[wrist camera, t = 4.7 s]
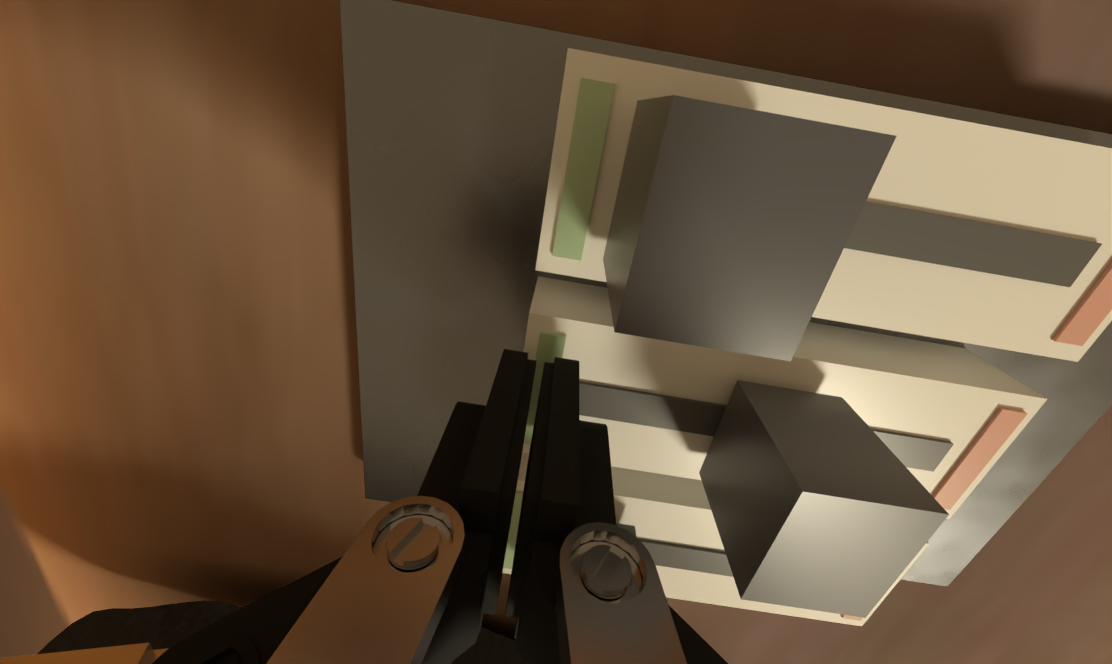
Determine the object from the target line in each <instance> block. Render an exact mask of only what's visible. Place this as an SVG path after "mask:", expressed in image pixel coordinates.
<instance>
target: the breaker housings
mask: <svg viewBox="0 0 1112 664" xmlns="http://www.w3.org/2000/svg"><path fill="white" fill-rule="evenodd" d="M671 95H676V96H682V97H687V98H693V99H698V100H703V101H709V102H714V103H720V104H725V105H731V106H736V107H742V108H747V109H753V110H758V111H764V112H769V113H775V114H780V115H785V116H791V117H796V118H802V119H807V120H813V121H818V122H824V123H829V124H835V125H840V126H846V127H851V128H857V129H862V130H867V131H873V132H878V133H884V134H889V135H895V136H896V138H895V141H894V143H893V145H892V147H891V149H890V151H889V153H888V155H887V158H886V160H885V162H884V164H883V166H882V168H881V170H880V173H879V175H878V177H877V179H876V181H875V183H874V185H873V187H872V190H871V192H870V194H869V196H868V198H867V200H866V202H865V204H864V207H863V209H862V211H861V213H860V215H859V217H858V219H857V221H856V224H855V226H854V228H853V230H852V232H851V234H850V236H849V238H848V241H847V243H846V245H845V247H844V249H843V251H842V253H841V255H840V258H839V260H838V262H837V264H836V266H835V268H834V270H833V272H832V275H831V277H830V279H829V281H828V283H827V285H826V287H825V289H824V292H823V294H822V296H821V298H820V300H819V302H818V304H817V306H816V309H815V311H814V313H813V315H812V317H815V318H821V319H827V320H833V321H839V322H845V323H850V324H856V325H862V326H868V327H874V328H880V329H886V330H892V331H898V332H904V333H910V334H916V335H921V336H927V337H933V338H939V339H945V340H951V341H957V342H963V343H969V344H975V345H981V346H986V347H992V348H998V349H1004V350H1010V351H1016V352H1022V353H1028V354H1034V355H1040V356H1046V357H1051V358H1057V359H1063V360H1069V361H1075V362H1078V361H1079V360H1080V359H1081V358H1082V356H1083V355H1084V354H1085V353H1086V351H1087V350H1088V349H1089V348H1090V347H1091V345H1092V344H1093V343H1094V342H1095V340H1096V339H1097V338H1098V337H1099V336H1100V334H1101V333H1102V332H1103V331H1104V329H1105V328H1106V327H1107V326H1108V325H1109V323H1110V322H1111V321H1112V148H1107V147H1102V146H1096V145H1091V144H1085V143H1080V142H1074V141H1069V140H1064V139H1058V138H1053V137H1047V136H1042V135H1037V134H1031V133H1026V132H1020V131H1015V130H1010V129H1004V128H999V127H993V126H988V125H983V124H977V123H972V122H966V121H961V120H955V119H950V118H945V117H939V116H934V115H928V114H923V113H918V112H912V111H907V110H901V109H896V108H891V107H885V106H880V105H874V104H869V103H864V102H858V101H853V100H847V99H842V98H836V97H831V96H826V95H820V94H815V93H809V92H804V91H799V90H793V89H788V88H782V87H777V86H772V85H766V84H761V83H755V82H750V81H744V80H739V79H734V78H728V77H723V76H717V75H712V74H707V73H701V72H696V71H690V70H685V69H680V68H674V67H669V66H663V65H658V64H653V63H647V62H642V61H636V60H631V59H625V58H620V57H615V56H609V55H604V54H598V53H593V52H588V51H582V50H577V49H571V48H568V50H567V57H566V64H565V71H564V78H563V85H562V91H561V98H560V105H559V112H558V119H557V126H556V133H555V139H554V146H553V153H552V160H551V167H550V174H549V180H548V187H547V194H546V201H545V208H544V215H543V221H542V228H541V235H540V242H539V249H538V256H537V262H536V269H535V270H537V271H543V272H549V273H555V274H561V275H567V276H573V277H579V278H584V279H590V280H596V281H602V282H606V275H605V269H604V263H603V257H604V252H605V247H606V243H607V238H608V234H609V229H610V224H611V220H612V215H613V211H614V206H615V201H616V197H617V192H618V187H619V183H620V178H621V174H622V169H623V164H624V160H625V155H626V151H627V146H628V141H629V137H630V132H631V128H632V123H633V118H634V114H635V109H636V105H637V101H638V100H645V99H651V98H658V97H664V96H671ZM523 352H527V353H528V359H530V360H536V361H537V363H536V369H535V376H534V382H533V388H532V394H531V401H530V407H529V413H528V420H527V426H526V432H525V438H524V445H523V451H522V457H521V463H520V469H519V475H518V481H517V487H516V493H515V499H514V505H513V511H512V517H511V523H510V530H509V536H508V542H507V548H506V554H505V560H504V566H503V572H502V573H506V574H511V572H512V565H513V559H514V552H515V545H516V538H517V531H518V525H519V518H520V511H521V504H522V497H523V491H524V484H525V477H526V470H527V464H528V457H529V451H530V445H531V439H532V433H533V427H534V422H535V416H536V410H537V404H538V398H539V392H540V386H541V380H542V374H543V368H544V363H545V362H549V363H554V359H555V357H559V358H565V359H571V360H577V361H579V420H582V421H588V422H594V423H601V424H606V425H607V428H608V437H609V448H610V460H611V471H612V482H613V493H614V505H615V516H616V523H619V524H626V525H632V526H635V530H636V537H637V538H638V539H639V540H640V541H641V542H642V543H643V545H644V546H645V547H646V548H647V549H648V551H649V552H650V554H651V557H652V559H653V561H654V563H655V565H656V568H657V571H658V574H659V578H660V581H661V584H662V587H663V590H664V593H665V596H666V597H668V598H675V599H681V600H688V601H695V602H702V603H708V604H715V605H722V606H729V607H736V608H742V609H749V610H756V611H763V612H769V613H776V614H783V615H790V616H796V617H803V618H810V619H817V620H823V621H830V622H837V623H844V624H850V625H857V626H863V624H864V623H865V622H866V621H867V619H868V618H869V617H870V616H871V615H872V613H873V612H874V611H875V610H876V608H877V607H878V606H879V605H880V604H881V602H882V601H883V600H884V599H885V597H886V596H887V595H888V594H889V593H890V591H891V590H892V589H893V588H894V586H895V585H896V584H897V583H898V582H899V580H900V579H901V578H902V577H903V575H904V574H905V573H906V572H907V571H908V569H909V568H910V567H911V566H912V564H913V563H914V562H915V561H916V559H917V558H918V557H919V556H920V555H921V553H922V552H923V551H924V550H925V548H926V547H927V546H928V545H929V543H928V541H927V543H926V544H925V545H924V546H923V548H922V549H921V550H920V551H919V552H918V554H917V555H916V556H915V557H914V559H913V560H912V561H911V562H910V564H909V565H908V566H907V567H906V568H905V570H904V571H903V572H902V573H901V575H900V576H899V577H898V578H897V580H896V581H895V582H894V583H893V584H892V586H891V587H890V588H889V589H888V591H887V592H886V593H885V594H884V596H883V597H882V598H881V599H880V601H879V602H878V603H877V604H876V605H875V607H874V608H873V609H872V610H871V612H870V613H869V614H868V615H867V617H866V618H863V617H856V616H850V615H843V614H836V613H830V612H823V611H816V610H809V609H803V608H796V607H789V606H782V605H776V604H769V603H762V602H756V601H749V600H742V599H740V596H739V592H738V589H737V586H736V583H735V580H734V577H733V574H732V571H731V568H730V565H729V562H728V559H727V556H726V553H725V550H724V547H723V544H722V541H721V538H720V535H719V532H718V529H717V526H716V523H715V520H714V517H713V514H712V511H711V508H710V505H709V501H708V498H707V495H706V492H705V489H704V486H703V483H702V480H701V477H700V474H699V472H700V469H701V467H702V464H703V462H704V460H705V457H706V455H707V452H708V450H709V448H710V445H711V443H712V440H713V438H714V436H715V433H716V431H717V428H718V426H719V424H720V421H721V419H722V416H723V414H724V412H725V409H726V407H727V404H728V402H729V399H730V397H731V395H732V392H733V390H734V387H735V385H736V383H737V380H740V381H746V382H752V383H758V384H764V385H770V386H777V387H783V388H789V389H795V390H801V391H807V392H813V393H819V394H825V395H831V396H838V397H842V398H843V399H844V400H845V401H846V402H847V403H848V404H849V405H850V406H851V407H852V409H853V410H854V411H855V412H856V413H857V414H858V415H859V416H860V417H861V418H862V420H863V421H864V422H865V423H866V424H867V425H868V426H869V427H870V428H871V429H872V430H873V432H874V433H875V434H876V435H877V436H878V437H879V438H880V439H881V440H882V441H883V443H884V444H885V445H886V446H887V447H888V448H889V449H890V450H891V451H892V452H893V453H894V455H895V456H896V457H897V458H898V459H899V460H900V461H901V462H902V463H903V464H904V465H905V467H906V468H907V469H908V470H909V471H910V472H911V473H912V474H913V475H914V476H915V478H916V479H917V480H918V481H919V482H920V483H921V484H922V485H923V486H924V487H925V488H926V490H927V491H928V492H929V493H930V494H931V495H932V496H933V497H934V498H935V499H936V501H937V502H938V503H939V504H940V505H941V506H942V507H943V508H944V509H945V510H946V511H947V513H948V514H949V515H948V517H947V518H946V519H950V518H951V517H952V515H953V514H954V513H955V512H956V511H957V509H958V508H959V507H960V506H961V504H962V503H963V502H964V501H965V500H966V498H967V497H968V496H969V495H970V493H971V492H972V491H973V490H974V489H975V487H976V486H977V485H978V484H979V482H980V481H981V480H982V479H983V478H984V476H985V475H986V474H987V473H988V471H989V470H990V469H991V468H992V467H993V465H994V464H995V463H996V462H997V460H998V459H999V458H1000V457H1001V455H1002V454H1003V453H1004V452H1005V451H1006V449H1007V448H1008V447H1009V446H1010V444H1011V443H1012V442H1013V441H1014V440H1015V438H1016V437H1017V436H1018V435H1019V433H1020V432H1021V431H1022V430H1023V429H1024V427H1025V426H1026V425H1027V424H1028V422H1029V421H1030V420H1031V419H1032V418H1033V416H1034V415H1035V414H1036V413H1037V411H1038V410H1039V409H1040V408H1041V407H1042V405H1043V404H1044V403H1045V402H1046V400H1047V398H1045V397H1044V396H1042V395H1040V394H1039V393H1037V392H1035V391H1034V390H1032V389H1031V388H1029V387H1027V386H1026V385H1024V384H1023V383H1021V382H1019V381H1018V380H1016V379H1014V378H1013V377H1011V376H1010V375H1008V374H1006V373H1005V372H1003V371H1001V370H1000V369H998V368H997V367H995V366H993V365H992V364H990V363H989V362H987V361H985V360H984V359H982V358H980V357H979V356H977V355H976V354H974V353H972V352H971V351H969V350H967V349H966V348H961V347H955V346H949V345H943V344H937V343H931V342H925V341H919V340H913V339H907V338H901V337H895V336H889V335H884V334H878V333H872V332H866V331H860V330H854V329H848V328H842V327H836V326H830V325H824V324H818V323H812V322H809V323H808V326H807V328H806V330H805V332H804V334H803V336H802V338H801V341H800V343H799V345H798V347H797V349H796V351H795V353H794V355H793V358H792V360H791V362H790V361H784V360H778V359H772V358H766V357H760V356H754V355H748V354H742V353H736V352H730V351H724V350H718V349H712V348H706V347H700V346H694V345H688V344H682V343H676V342H670V341H664V340H658V339H652V338H646V337H640V336H634V335H628V334H622V333H616V332H614V326H613V320H612V313H611V307H610V301H609V294H608V288H605V287H599V286H593V285H587V284H581V283H575V282H569V281H564V280H558V279H552V278H546V277H540V276H538V279H537V283H536V287H535V291H534V295H533V299H532V303H531V307H530V311H529V317H528V324H527V331H526V338H525V345H524V351H523Z"/></svg>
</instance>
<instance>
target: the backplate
mask: <svg viewBox="0 0 1112 664" xmlns="http://www.w3.org/2000/svg"><path fill="white" fill-rule="evenodd" d="M340 14H341V34H342V53H343V73H344V92H345V112H346V131H347V151H348V170H349V190H350V209H351V229H352V248H353V268H354V287H355V307H356V326H357V346H358V365H359V385H360V404H361V423H362V443H363V462H364V482H365V498H368V499H374V500H381V501H388V502H394V501H397V500H399V499H402V498H405V497H413V496H417V495H418V493H419V490H420V488H421V485H422V483H423V481H424V478H425V476H426V474H427V471H428V469H429V466H430V464H431V462H432V459H433V457H434V455H435V452H436V450H437V447H438V445H439V443H440V440H441V438H442V435H443V433H444V431H445V428H446V426H447V424H448V421H449V419H450V416H451V414H452V412H453V409H454V407H455V405H456V403H457V402H458V401H460V402H466V403H473V404H479V405H485V406H486V404H487V401H488V398H489V395H490V392H491V388H492V385H493V382H494V379H495V376H496V373H497V369H498V366H499V363H500V360H501V357H502V353H503V351H504V349H509V350H515V351H521V352H523V351H524V345H525V338H526V331H527V324H528V317H529V311H530V307H531V303H532V299H533V295H534V291H535V287H536V283H537V279H538V276H540V277H546V278H552V279H558V280H564V281H569V282H575V283H581V284H587V285H593V286H599V287H605V288H607V282H602V281H596V280H590V279H584V278H579V277H573V276H567V275H561V274H555V273H549V272H543V271H537V270H535V269H536V262H537V256H538V249H539V242H540V235H541V228H542V221H543V215H544V208H545V201H546V194H547V187H548V180H549V174H550V167H551V160H552V153H553V146H554V139H555V133H556V126H557V119H558V112H559V105H560V98H561V91H562V85H563V78H564V71H565V64H566V57H567V50H568V48H571V49H577V50H582V51H588V52H593V53H598V54H604V55H609V56H615V57H620V58H625V59H631V60H636V61H642V62H647V63H653V64H658V65H663V66H669V67H674V68H680V69H685V70H690V71H696V72H701V73H707V74H712V75H717V76H723V77H728V78H734V79H739V80H744V81H750V82H755V83H761V84H766V85H772V86H777V87H782V88H788V89H793V90H799V91H804V92H809V93H815V94H820V95H826V96H831V97H836V98H842V99H847V100H853V101H858V102H864V103H869V104H874V105H880V106H885V107H891V108H896V109H901V110H907V111H912V112H918V113H923V114H928V115H934V116H939V117H945V118H950V119H955V120H961V121H966V122H972V123H977V124H983V125H988V126H993V127H999V128H1004V129H1010V130H1015V131H1020V132H1026V133H1031V134H1037V135H1042V136H1047V137H1053V138H1058V139H1064V140H1069V141H1074V142H1080V143H1085V144H1091V145H1096V146H1102V147H1107V148H1112V134H1107V133H1102V132H1097V131H1091V130H1086V129H1080V128H1075V127H1070V126H1064V125H1059V124H1054V123H1048V122H1043V121H1037V120H1032V119H1027V118H1021V117H1016V116H1011V115H1005V114H1000V113H994V112H989V111H984V110H978V109H973V108H967V107H962V106H957V105H951V104H946V103H941V102H935V101H930V100H924V99H919V98H914V97H908V96H903V95H898V94H892V93H887V92H881V91H876V90H871V89H865V88H860V87H854V86H849V85H844V84H838V83H833V82H828V81H822V80H817V79H811V78H806V77H801V76H795V75H790V74H785V73H779V72H774V71H768V70H763V69H758V68H752V67H747V66H741V65H736V64H731V63H725V62H720V61H715V60H709V59H704V58H698V57H693V56H688V55H682V54H677V53H672V52H666V51H661V50H655V49H650V48H645V47H639V46H634V45H629V44H623V43H618V42H612V41H607V40H602V39H596V38H591V37H585V36H580V35H575V34H569V33H564V32H559V31H553V30H548V29H542V28H537V27H532V26H526V25H521V24H516V23H510V22H505V21H499V20H494V19H489V18H483V17H478V16H472V15H467V14H462V13H456V12H451V11H446V10H440V9H435V8H429V7H424V6H419V5H413V4H408V3H403V2H397V1H392V0H340ZM809 322H812V323H818V324H824V325H830V326H836V327H842V328H848V329H854V330H860V331H866V332H872V333H878V334H884V335H889V336H895V337H901V338H907V339H913V340H919V341H925V342H931V343H937V344H943V345H949V346H955V347H961V348H966V349H967V350H969V351H971V352H972V353H974V354H976V355H977V356H979V357H980V358H982V359H984V360H985V361H987V362H989V363H990V364H992V365H993V366H995V367H997V368H998V369H1000V370H1001V371H1003V372H1005V373H1006V374H1008V375H1010V376H1011V377H1013V378H1014V379H1016V380H1018V381H1019V382H1021V383H1023V384H1024V385H1026V386H1027V387H1029V388H1031V389H1032V390H1034V391H1035V392H1037V393H1039V394H1040V395H1042V396H1044V397H1045V398H1047V400H1046V402H1045V403H1044V404H1043V405H1042V407H1041V408H1040V409H1039V410H1038V411H1037V413H1036V414H1035V415H1034V416H1033V418H1032V419H1031V420H1030V421H1029V422H1028V424H1027V425H1026V426H1025V427H1024V429H1023V430H1022V431H1021V432H1020V433H1019V435H1018V436H1017V437H1016V438H1015V440H1014V441H1013V442H1012V443H1011V444H1010V446H1009V447H1008V448H1007V449H1006V451H1005V452H1004V453H1003V454H1002V455H1001V457H1000V458H999V459H998V460H997V462H996V463H995V464H994V465H993V467H992V468H991V469H990V470H989V471H988V473H987V474H986V475H985V476H984V478H983V479H982V480H981V481H980V482H979V484H978V485H977V486H976V487H975V489H974V490H973V491H972V492H971V493H970V495H969V496H968V497H967V498H966V500H965V501H964V502H963V503H962V504H961V506H960V507H959V508H958V509H957V511H956V512H955V513H954V514H953V515H952V517H951V518H950V519H945V520H944V522H943V523H942V524H941V525H940V527H939V528H938V529H937V530H936V531H935V533H934V534H933V535H932V536H931V538H930V539H929V540H928V543H929V545H928V546H927V547H926V548H925V550H924V551H923V552H922V553H921V555H920V556H919V557H918V558H917V559H916V561H915V562H914V563H913V564H912V566H911V567H910V568H909V569H908V571H907V572H906V573H905V574H904V575H903V577H902V578H901V579H902V580H908V581H915V582H922V583H928V584H935V585H941V586H948V585H949V584H950V583H951V582H952V581H953V579H954V578H955V577H956V576H957V575H958V574H959V573H960V572H961V571H962V569H963V568H964V567H965V566H966V565H967V564H968V563H969V562H970V561H971V560H972V558H973V557H974V556H975V555H976V554H977V553H978V552H979V551H980V550H981V548H982V547H983V546H984V545H985V544H986V543H987V542H988V541H989V540H990V539H991V537H992V536H993V535H994V534H995V533H996V532H997V531H998V530H999V529H1000V527H1001V526H1002V525H1003V524H1004V523H1005V522H1006V521H1007V520H1008V519H1009V518H1010V516H1011V515H1012V514H1013V513H1014V512H1015V511H1016V510H1017V509H1018V508H1019V506H1020V505H1021V504H1022V503H1023V502H1024V501H1025V500H1026V499H1027V498H1028V497H1029V495H1030V494H1031V493H1032V492H1033V491H1034V490H1035V489H1036V488H1037V487H1038V485H1039V484H1040V483H1041V482H1042V481H1043V480H1044V479H1045V478H1046V477H1047V475H1048V474H1049V473H1050V472H1051V471H1052V470H1053V469H1054V468H1055V467H1056V466H1057V464H1058V463H1059V462H1060V461H1061V460H1062V459H1063V458H1064V457H1065V456H1066V454H1067V453H1068V452H1069V451H1070V450H1071V449H1072V448H1073V447H1074V446H1075V445H1076V443H1077V442H1078V441H1079V440H1080V439H1081V438H1082V437H1083V436H1084V435H1085V433H1086V432H1087V431H1088V430H1089V429H1090V428H1091V427H1092V426H1093V425H1094V424H1095V422H1096V421H1097V420H1098V419H1099V418H1100V417H1101V416H1102V415H1103V414H1104V412H1105V411H1106V410H1107V409H1108V408H1109V407H1110V406H1111V405H1112V321H1111V322H1110V323H1109V325H1108V326H1107V327H1106V328H1105V329H1104V331H1103V332H1102V333H1101V334H1100V336H1099V337H1098V338H1097V339H1096V340H1095V342H1094V343H1093V344H1092V345H1091V347H1090V348H1089V349H1088V350H1087V351H1086V353H1085V354H1084V355H1083V356H1082V358H1081V359H1080V360H1079V361H1078V362H1075V361H1069V360H1063V359H1057V358H1051V357H1046V356H1040V355H1034V354H1028V353H1022V352H1016V351H1010V350H1004V349H998V348H992V347H986V346H981V345H975V344H969V343H963V342H957V341H951V340H945V339H939V338H933V337H927V336H921V335H916V334H910V333H904V332H898V331H892V330H886V329H880V328H874V327H868V326H862V325H856V324H850V323H845V322H839V321H833V320H827V319H821V318H815V317H811V319H810V321H809Z"/></svg>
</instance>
